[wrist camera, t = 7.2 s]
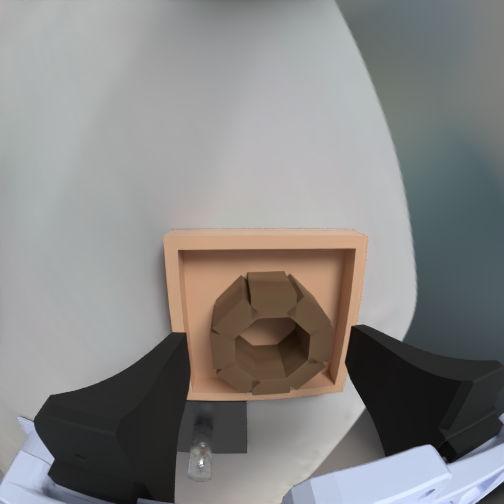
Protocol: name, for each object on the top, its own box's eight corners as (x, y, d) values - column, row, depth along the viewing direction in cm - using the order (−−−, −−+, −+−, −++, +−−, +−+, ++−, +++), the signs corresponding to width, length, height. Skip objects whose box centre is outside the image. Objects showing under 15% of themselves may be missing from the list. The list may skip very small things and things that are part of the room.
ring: (310, 356, 15) (324, 388, 12) (218, 361, 15) (215, 396, 12) (317, 269, 14) (337, 291, 11) (212, 272, 14) (206, 296, 11)
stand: (246, 448, 18) (250, 495, 13) (169, 445, 17) (161, 491, 13) (245, 396, 16) (250, 451, 12) (154, 393, 16) (138, 445, 11)
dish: (334, 373, 16) (342, 391, 14) (187, 380, 16) (183, 399, 14) (353, 229, 14) (368, 235, 12) (172, 229, 14) (163, 236, 12)
